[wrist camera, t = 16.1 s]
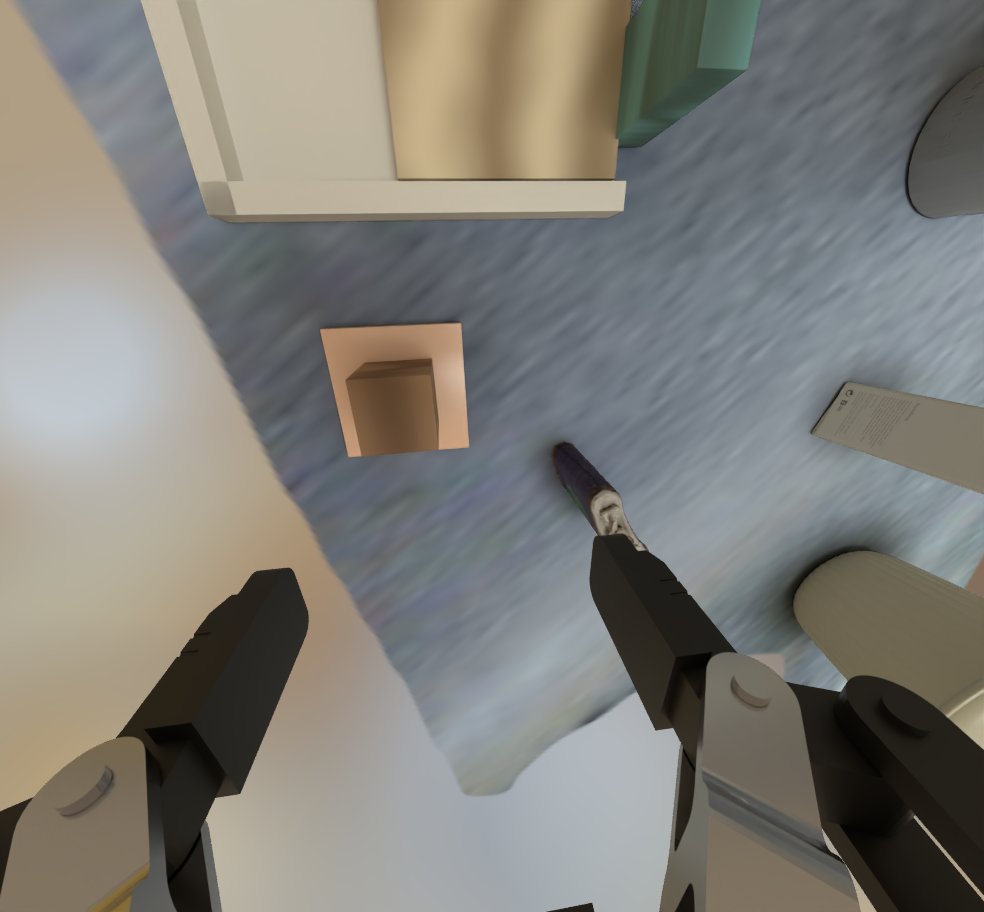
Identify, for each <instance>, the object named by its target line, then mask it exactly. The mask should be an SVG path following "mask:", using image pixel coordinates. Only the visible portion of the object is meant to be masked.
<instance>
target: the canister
mask: <svg viewBox="0 0 984 912" xmlns="http://www.w3.org/2000/svg"><path fill="white" fill-rule="evenodd" d="M793 603H794V604H793V609H794V613H795V616H796V618H797V620H798V622H799V624H800V625H801V627H802V628H803V630H804V631H805V632H806V634H807V635H808V636H809V637H810V638H811V640H812V641H813V642H814V643H815V644H816V645H817V646H818V648H819V649H820V650H821V651H822V652H823V653H824V654H825V656H826V657H827V658H828V659H829V660H830V661H831V663H832V664H833V665H834V666H835V667H836V668H837V669H838V670H839V671H840V673H841V674H842V675H843V676H844V677H845V678H846V679H847V680H848V681H849V679H850V678H853V677H855V676H859V675H868V676H875V677H879V678H883V679H886V680H889V681H891V682H894V683H896V684H899V685H901V686H903V687H905V688H907V689H909V690H911V691H912V692H914V693H916V694H917V695H919V696H921V697H922V698H924V699H925V700H927V701H928V702H929V703H931V704H932V705H933V706H935V707H936V708H937V709H938V710H940V711H941V712H942V713H943V714H944V715H945V716H947V717H948V718H949V719H950V720H951V721H952V722H953V723H954V724H955V725H957V726H958V727H959V728H960V729H961V730H962V731H963V732H964V733H966V734H967V735H968V736H969V737H970V738H971V739H972V740H973V741H975V742H976V743H977V744H978V745H979V746H980V747H981V748H982V749H984V598H982V597H980V596H978V595H976V594H974V593H972V592H970V591H968V590H966V589H963V588H961V587H959V586H957V585H955V584H953V583H951V582H948V581H946V580H944V579H942V578H940V577H937V576H935V575H933V574H931V573H929V572H926V571H924V570H922V569H920V568H918V567H915V566H913V565H911V564H909V563H906V562H904V561H902V560H899V559H897V558H894V557H892V556H889V555H886V554H882V553H878V552H872V551H855V552H848V553H846V554H841V555H839V556H837V557H834V558H832V559H831V560H828V561H826V562H825V563H823V564H821V565H820V566H819V567H818V568H816V569H814V571H813V572H811V573H810V574H809V575H808V577H806V578H805V579H804V581H803V582H802V583H801V584H800V587H799V588H798V589H797V593H796V594H795V598H794V600H793Z"/></svg>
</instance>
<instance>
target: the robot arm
mask: <svg viewBox="0 0 984 912" xmlns="http://www.w3.org/2000/svg"><path fill="white" fill-rule="evenodd" d="M908 185H909V195H910V197H911V200H912V203H913V205H914V206H915V208H916V209H917V210H918V211H919V212H920V213H921V214H923V215H925V216H926V217H931V218H944V217H951V216H957V215H964V214H969V215H975V214H981V213H984V66H983V67H980V68H979V69H977V70H975V71H974V72H972V73H970V74H969V75H967V76H966V77H965V78H963V79H962V80H961V81H960V82H959V83H958V84H956V85H955V86H954V87H953V88H952V89H951V90H950V91H949V92H948V93H947V95H946V96H945V97H944V98H943V99H942V100H941V101H940V103H939V104H938V106H937V107H936V108H935V110H934V111H933V113H932V114H931V116H930V117H929V119H928V121H927V122H926V124H925V126H924V128H923V130H922V132H921V134H920V136H919V138H918V141H917V143H916V146H915V148H914V151H913V155H912V159H911V163H910V167H909V178H908ZM590 589H591V593H592V597H593V600H594V602H595V604H596V607H597V609H598V611H599V613H600V615H601V617H602V619H603V621H604V623H605V625H606V627H607V630H608V632H609V634H610V636H611V638H612V640H613V642H614V644H615V646H616V648H617V651H618V653H619V655H620V657H621V659H622V661H623V663H624V665H625V667H626V669H627V672H628V674H629V676H630V678H631V680H632V682H633V684H634V686H635V688H636V690H637V693H638V695H639V697H640V699H641V701H642V703H643V705H644V707H645V709H646V711H647V714H648V716H649V718H650V720H651V722H652V724H653V726H654V728H655V730H662V729H669V728H674V730H675V732H676V734H677V736H678V738H679V740H680V742H681V745H680V749H679V758H678V768H677V778H676V789H675V800H674V809H673V820H672V831H671V840H670V850H669V858H668V865H667V870H666V875H665V879H664V885H663V890H662V896H661V904H660V911H659V912H861V911H860V906H859V902H858V898H857V894H856V890H855V887H854V884H853V880H852V878H851V875H850V873H849V871H848V869H847V867H848V868H849V870H850V871H851V873H852V875H853V876H854V878H855V879H856V881H857V882H858V884H859V885H860V887H861V888H862V889H863V891H864V893H865V894H866V896H867V897H868V899H869V900H870V902H871V903H872V905H873V906H874V908H875V910H876V911H877V912H984V901H983V900H982V899H981V897H980V896H979V895H978V894H977V893H976V891H975V890H974V889H973V888H972V887H971V885H970V884H969V883H968V882H967V881H966V880H965V878H964V877H963V876H962V875H961V874H960V872H959V871H958V870H957V869H956V868H955V867H954V865H953V864H952V863H951V862H950V861H949V859H948V858H947V857H946V856H945V855H944V853H942V851H941V850H940V849H939V848H938V846H937V845H936V844H935V843H934V842H933V840H932V839H931V838H930V837H929V836H928V834H927V833H926V832H925V831H924V830H923V829H922V827H921V826H920V825H919V824H918V823H917V821H916V820H915V819H914V818H913V817H914V816H915V815H916V816H917V817H918V818H919V820H920V821H921V822H922V823H923V824H924V826H925V827H926V828H927V829H928V830H929V831H930V833H931V834H932V835H933V836H934V837H935V839H936V840H937V841H938V842H939V843H940V844H941V846H942V847H943V848H944V849H945V850H946V851H947V853H948V854H949V855H950V856H951V857H952V858H953V860H954V861H955V862H956V863H957V864H958V866H959V867H960V868H961V869H962V870H963V871H964V873H965V874H966V875H967V876H968V877H969V878H970V880H971V881H972V882H973V883H974V884H975V886H976V887H977V888H978V889H979V890H980V891H981V892H982V894H983V895H984V749H982V748H981V747H980V746H979V745H978V744H977V743H976V742H975V741H973V740H972V739H971V738H970V737H969V736H968V735H967V734H966V733H964V732H963V731H962V730H961V729H960V728H959V727H958V726H957V725H955V724H954V723H953V722H952V721H951V720H950V719H949V718H948V717H947V716H945V715H944V714H943V713H942V712H941V711H940V710H938V709H937V708H936V707H935V706H933V705H932V704H931V703H929V702H928V701H927V700H925V699H924V698H922V697H921V696H919V695H917V694H916V693H914V692H912V691H911V690H909V689H907V688H905V687H903V686H901V685H899V684H896V683H894V682H891V681H889V680H886V679H883V678H879V677H875V676H868V675H859V676H855V677H853V678H850V679H849V681H848V682H847V683H846V685H845V686H844V688H843V690H842V691H841V692H837V691H832V690H826V689H821V688H815V687H810V686H804V685H799V684H793V683H789V682H785V681H784V680H783V679H782V678H781V677H780V676H779V675H778V674H777V673H776V672H775V671H773V670H772V669H771V668H769V667H768V666H766V665H765V664H763V663H762V662H760V661H758V660H756V659H754V658H751V657H749V656H746V655H743V654H739V653H737V652H736V651H735V650H734V648H733V647H732V646H731V645H730V644H729V642H728V641H727V640H726V639H725V637H724V636H723V635H722V634H721V632H720V631H719V630H718V629H717V627H716V626H715V625H714V624H713V623H712V621H711V620H710V619H709V618H708V616H707V615H706V614H705V613H704V611H703V610H702V609H701V608H700V606H699V605H698V604H697V603H696V601H695V600H694V599H693V598H692V596H691V595H688V593H687V590H686V589H685V588H684V587H683V585H682V584H681V583H680V582H679V581H677V578H676V577H675V575H674V574H673V573H672V572H671V570H670V569H669V568H668V567H667V565H666V564H665V563H664V562H663V561H661V560H660V559H658V558H657V557H655V556H654V555H652V554H651V553H650V552H648V551H647V550H643V551H638V550H637V549H636V548H635V546H634V545H633V544H632V542H631V541H630V540H629V538H628V537H627V536H626V535H625V534H623V533H619V534H610V535H601V536H596V537H595V538H594V541H593V550H592V560H591V569H590ZM308 619H309V617H308V610H307V607H306V604H305V601H304V599H303V596H302V593H301V590H300V588H299V585H298V582H297V579H296V576H295V574H294V572H293V570H292V569H291V568H281V569H271V570H261V571H256V572H254V573H253V574H252V575H251V576H250V578H249V579H248V581H247V582H246V584H245V585H244V587H243V588H242V589H241V591H240V592H239V594H237V595H231V596H230V597H229V598H227V599H226V600H225V601H224V602H223V603H222V604H220V605H219V606H218V607H217V608H215V609H214V610H213V611H212V612H211V613H209V615H208V616H207V617H206V619H205V620H204V621H203V623H202V624H201V625H200V627H199V628H198V630H197V631H196V632H195V633H194V638H193V639H190V640H189V642H188V643H187V644H186V646H185V647H184V648H183V650H182V651H181V655H180V657H177V658H176V659H175V660H174V662H173V663H172V664H171V666H170V667H169V668H168V670H167V671H166V672H165V674H164V675H163V676H162V678H161V679H160V680H159V682H158V683H157V684H156V686H155V687H154V688H153V690H152V691H151V693H150V694H149V695H148V696H147V698H146V699H145V700H144V702H143V703H142V704H141V706H140V707H139V709H138V710H137V711H136V713H135V714H134V715H133V717H132V718H131V719H130V721H129V722H128V723H127V725H126V726H125V727H124V729H123V730H122V731H121V732H120V734H119V735H118V736H117V737H116V739H113V740H109V741H107V742H104V743H102V744H100V745H98V746H96V747H94V748H92V749H90V750H88V751H87V752H85V753H83V754H82V755H80V756H79V757H77V758H76V759H75V760H73V761H72V762H70V763H69V764H68V765H66V766H65V767H64V768H63V769H61V770H60V771H59V772H58V773H57V774H56V775H54V776H53V777H52V778H51V779H50V780H49V781H48V782H47V783H46V784H45V785H44V786H43V787H42V788H41V789H40V790H39V792H38V793H37V794H36V795H35V796H34V797H33V798H30V799H28V800H26V801H23V802H21V803H19V804H16V805H14V806H12V807H9V808H7V809H5V810H2V811H0V912H222V908H221V902H220V896H219V889H218V883H217V876H216V870H215V864H214V857H213V851H212V844H211V838H210V832H209V827H208V823H207V822H206V820H205V819H206V817H207V815H208V812H209V810H210V808H211V806H212V804H213V802H214V799H215V798H217V797H224V796H230V795H237V794H240V793H241V791H242V788H243V786H244V783H245V781H246V778H247V776H248V774H249V771H250V769H251V767H252V764H253V762H254V759H255V757H256V754H257V752H258V750H259V747H260V745H261V742H262V740H263V738H264V735H265V733H266V730H267V728H268V726H269V723H270V721H271V718H272V716H273V714H274V711H275V709H276V706H277V704H278V702H279V699H280V697H281V694H282V692H283V690H284V687H285V685H286V682H287V680H288V678H289V675H290V673H291V670H292V668H293V666H294V663H295V661H296V658H297V656H298V654H299V651H300V649H301V646H302V644H303V641H304V639H305V637H306V633H307V629H308V622H309V620H308ZM821 827H822V828H821ZM822 829H823V830H824V832H825V833H826V835H827V836H828V838H829V839H830V841H831V842H832V844H833V846H834V847H835V849H836V850H837V851H838V853H839V855H840V856H841V857H842V859H843V861H844V862H845V863H844V862H843V861H842V859H841V858H840V857H839V856H837V855H835V854H834V853H832V852H830V850H829V849H828V847H827V845H826V843H825V841H824V837H823V833H822ZM845 864H846V865H847V867H846V865H845ZM548 912H594V908H593V905H592V903H588V904H584V905H579V906H573V907H568V908H563V909H559V910H553V911H548Z"/></svg>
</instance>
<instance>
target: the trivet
mask: <svg viewBox="0 0 984 912" xmlns="http://www.w3.org/2000/svg"><path fill="white" fill-rule="evenodd" d="M320 332H321V336H322V341H323V345H324V350H325V354H326V359H327V363H328V367H329V372H330V376H331V381H332V385H333V390H334V394H335V399H336V403H337V407H338V412H339V416H340V421H341V425H342V430H343V434H344V439H345V443H346V447H347V452H348V456H349V457H356V456H361V452H360V447H359V442H358V438H357V433H356V428H355V424H354V419H353V414H352V410H351V405H350V400H349V396H348V391H347V386H346V382H345V380H346V379H347V378H348V377H349V376H350V375H351V374H353V373H354V372H355V371H356V370H357V369H358V368H359V367H360V366H361V365H362V364H364V363H365V362H381V361H398V360H414V359H431V358H432V361H433V371H434V380H435V389H436V399H437V408H438V418H439V450H441V449H453V448H465V447H469V439H468V424H467V408H466V393H465V377H464V362H463V347H462V331H461V323H460V322H451V323H428V324H406V325H383V326H360V327H337V328H323V329H320Z"/></svg>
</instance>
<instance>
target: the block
mask: <svg viewBox="0 0 984 912" xmlns="http://www.w3.org/2000/svg"><path fill="white" fill-rule="evenodd" d="M345 382H346V386H347V391H348V396H349V400H350V405H351V410H352V414H353V419H354V424H355V428H356V433H357V438H358V442H359V447H360V452H361V456H373V455H384V454H396V453H407V452H419V451H430V450H439V418H438V408H437V399H436V389H435V380H434V371H433V361H432V358H431V359H414V360H398V361H381V362H365V363H364V364H362V365H361V366H360V367H359V368H358V369H357V370H356V371H355V372H354V373H353V374H351V375H350V376H349V377H348V378H347V379H346V380H345Z"/></svg>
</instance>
